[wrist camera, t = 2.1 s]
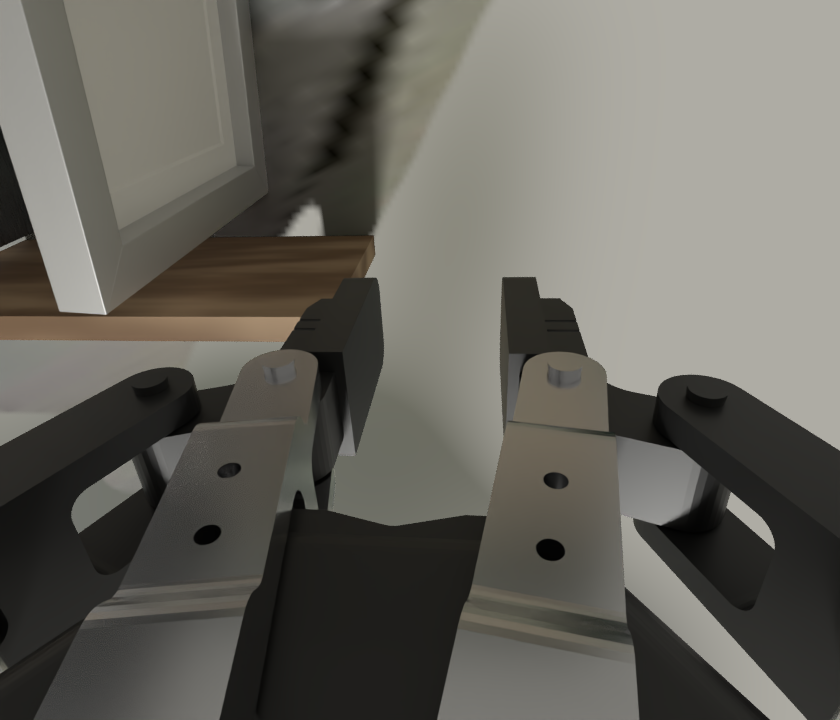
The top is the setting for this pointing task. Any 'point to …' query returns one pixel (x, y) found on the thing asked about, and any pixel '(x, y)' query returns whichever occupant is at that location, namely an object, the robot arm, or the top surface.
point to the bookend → (11, 201)
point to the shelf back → (192, 292)
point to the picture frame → (128, 134)
